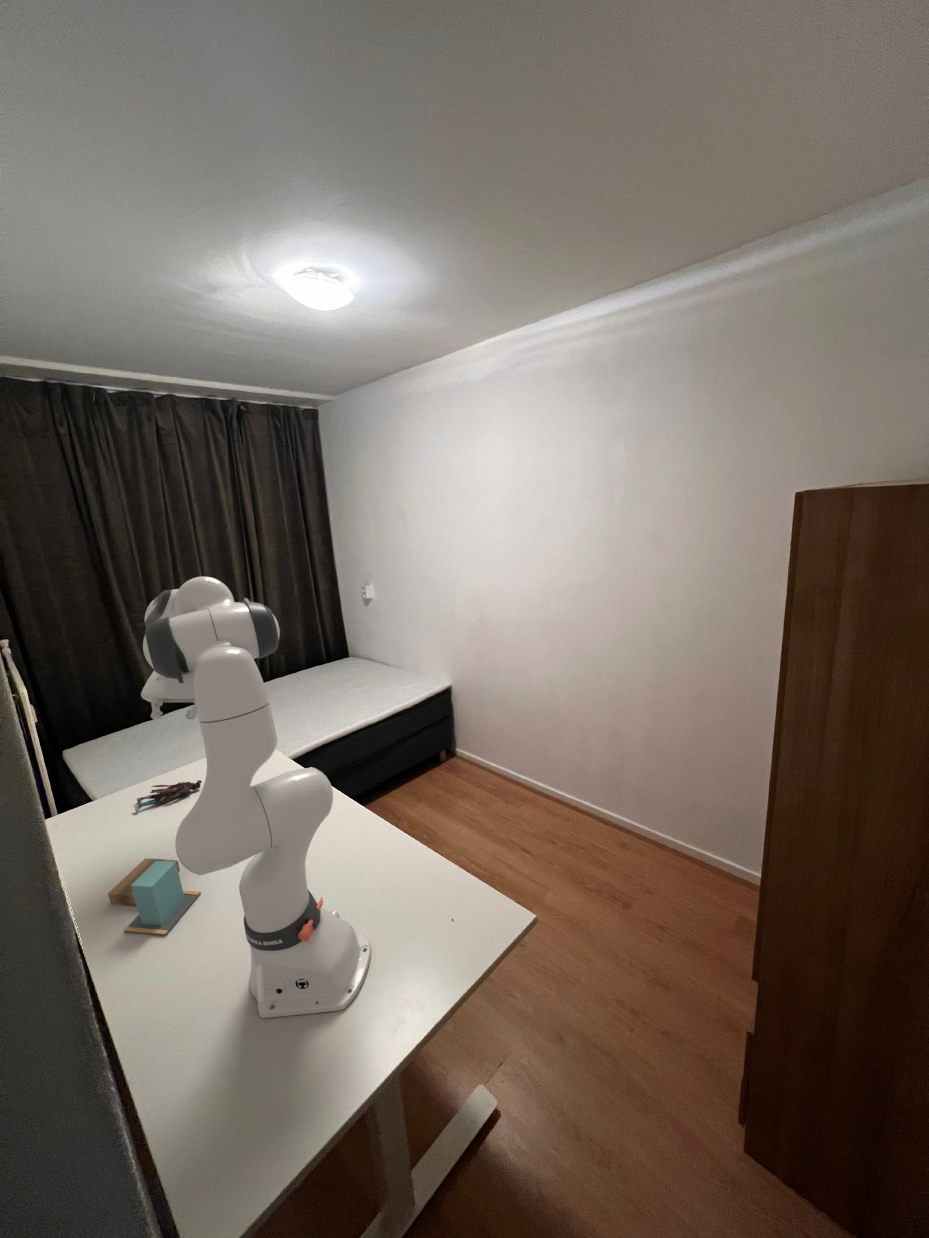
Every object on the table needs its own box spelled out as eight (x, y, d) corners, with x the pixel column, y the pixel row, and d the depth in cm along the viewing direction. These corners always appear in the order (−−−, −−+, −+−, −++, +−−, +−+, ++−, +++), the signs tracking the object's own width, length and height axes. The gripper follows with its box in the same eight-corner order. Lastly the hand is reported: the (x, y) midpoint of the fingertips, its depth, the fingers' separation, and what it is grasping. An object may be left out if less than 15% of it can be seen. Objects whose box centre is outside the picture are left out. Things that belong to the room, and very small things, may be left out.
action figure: (137, 817, 143) (204, 795, 151) (131, 801, 141) (199, 779, 149) (139, 802, 150) (203, 781, 157) (134, 786, 148) (199, 766, 155)
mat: (200, 894, 111) (200, 891, 111) (166, 936, 101) (165, 933, 101) (162, 891, 113) (161, 888, 113) (124, 932, 102) (123, 930, 102)
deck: (180, 870, 119) (177, 860, 118) (145, 907, 109) (142, 896, 108) (147, 868, 121) (145, 858, 120) (110, 904, 110) (107, 893, 109)
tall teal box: (184, 898, 110) (175, 862, 107) (162, 925, 103) (151, 886, 101) (165, 897, 111) (155, 860, 108) (141, 923, 104) (130, 885, 101)
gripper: (147, 661, 123) (125, 713, 116) (219, 660, 120) (201, 714, 113) (163, 671, 128) (143, 722, 122) (233, 671, 125) (217, 722, 118)
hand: (172, 718), depth 117 cm, fingers open, 8 cm apart
